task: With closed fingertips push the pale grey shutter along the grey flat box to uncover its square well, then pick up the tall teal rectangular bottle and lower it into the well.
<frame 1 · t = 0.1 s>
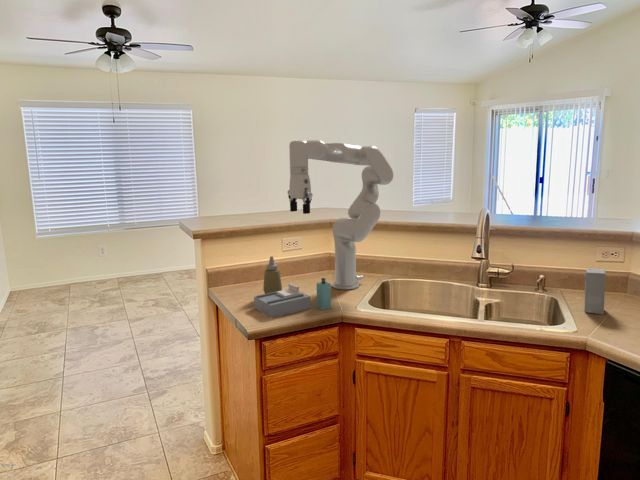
hand: (300, 212, 195), 37 cm above the worktop, tool pointing down, fingers open, 9 cm apart
skincare box: (592, 311, 178), on the worktop
teal rectangular bottle: (323, 307, 187), on the worktop
grey flat box: (282, 308, 187), on the worktop
shutter: (288, 290, 187), point 7 cm above the worktop, slide at 0.0 cm
squeeze bottle: (273, 297, 201), on the worktop
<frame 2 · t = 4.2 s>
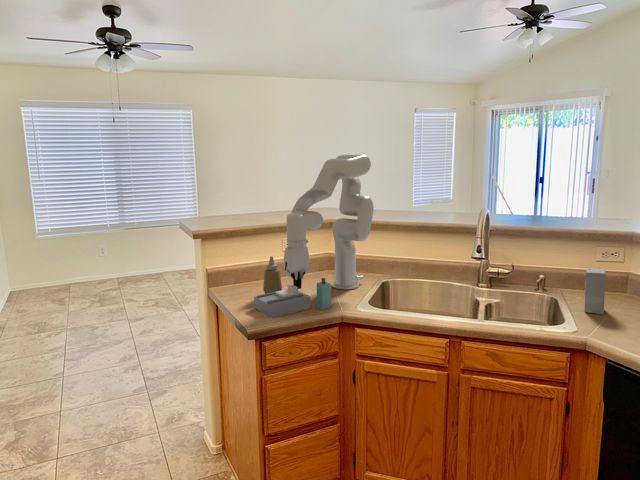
hand: (297, 288, 189), 7 cm above the worktop, tool pointing down, fingers closed
shutter: (287, 290, 187), point 7 cm above the worktop, slide at 0.5 cm, touching gripper
everything else where it was.
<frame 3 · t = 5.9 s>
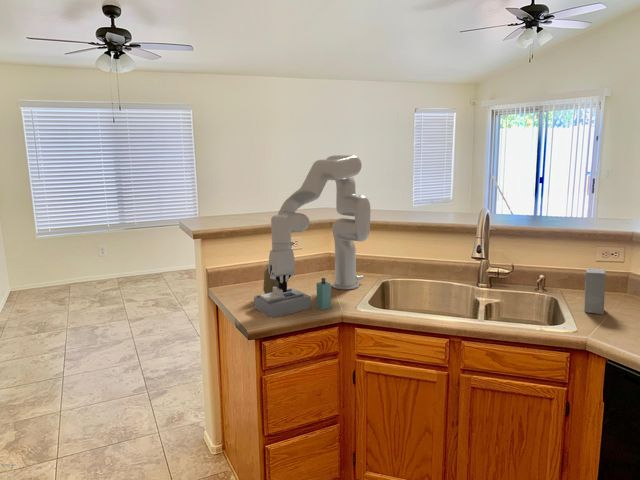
hand: (283, 291, 185), 7 cm above the worktop, tool pointing down, fingers closed
shutter: (272, 293, 183), point 7 cm above the worktop, slide at 7.4 cm, touching gripper
everything else where it was.
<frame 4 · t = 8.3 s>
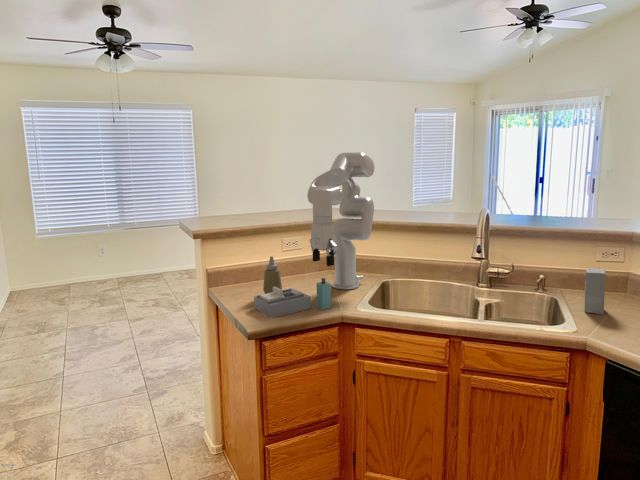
hand: (323, 263, 184), 18 cm above the worktop, tool pointing down, fingers open, 9 cm apart
shutter: (272, 293, 183), point 7 cm above the worktop, slide at 7.4 cm
everything else where it was.
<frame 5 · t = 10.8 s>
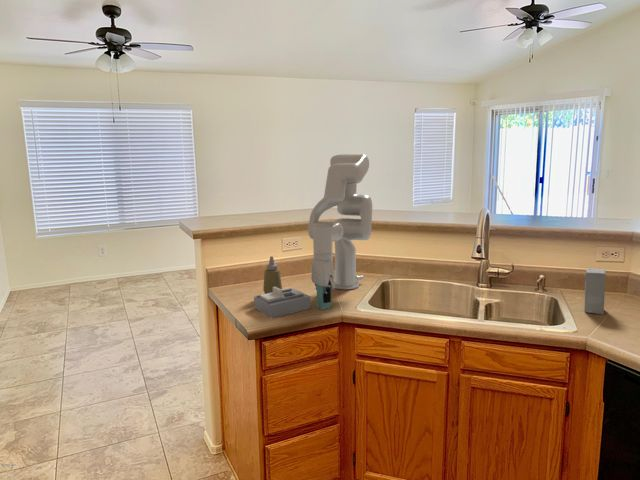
hand: (323, 300, 187), 3 cm above the worktop, tool pointing down, fingers closed on teal rectangular bottle, 4 cm apart
teal rectangular bottle: (323, 307, 187), on the worktop, touching gripper
everything else where it was.
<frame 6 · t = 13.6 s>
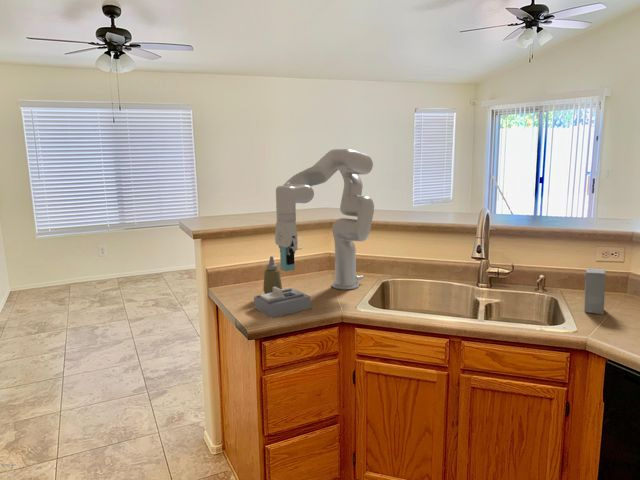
hand: (287, 262, 185), 18 cm above the worktop, tool pointing down, fingers closed on teal rectangular bottle, 4 cm apart
teal rectangular bottle: (287, 269, 185), point 16 cm above the worktop, touching gripper
everything else where it was.
when the fingers open (6 cm above the worktop, at t = 16.6 s): teal rectangular bottle drops 2 cm, resting on grey flat box.
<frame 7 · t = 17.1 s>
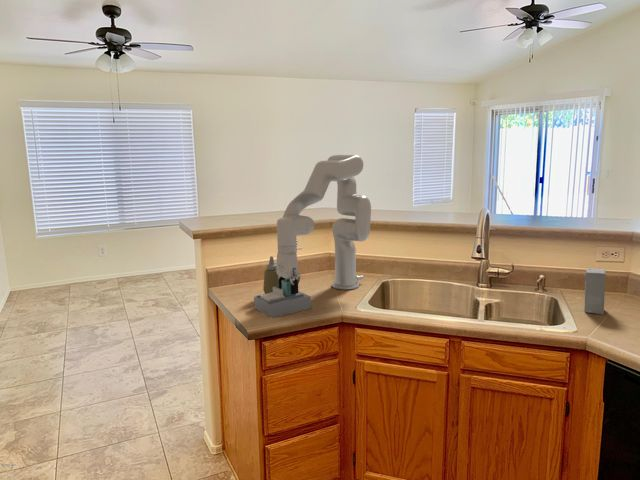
hand: (288, 290, 187), 7 cm above the worktop, tool pointing down, fingers open, 9 cm apart
teal rectangular bottle: (289, 304, 188), point 1 cm above the worktop, touching grey flat box
everything else where it was.
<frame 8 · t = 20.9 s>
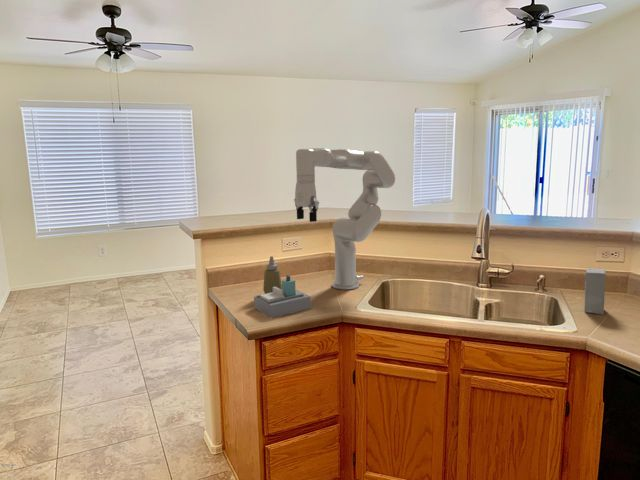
hand: (306, 220, 195), 33 cm above the worktop, tool pointing down, fingers open, 9 cm apart
nothing on the worktop moved.
at the end: teal rectangular bottle 0.1 cm from the target spot, point 1.0 cm above the worktop; teal rectangular bottle tilted 0°; shutter slide at 7.4 cm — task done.
